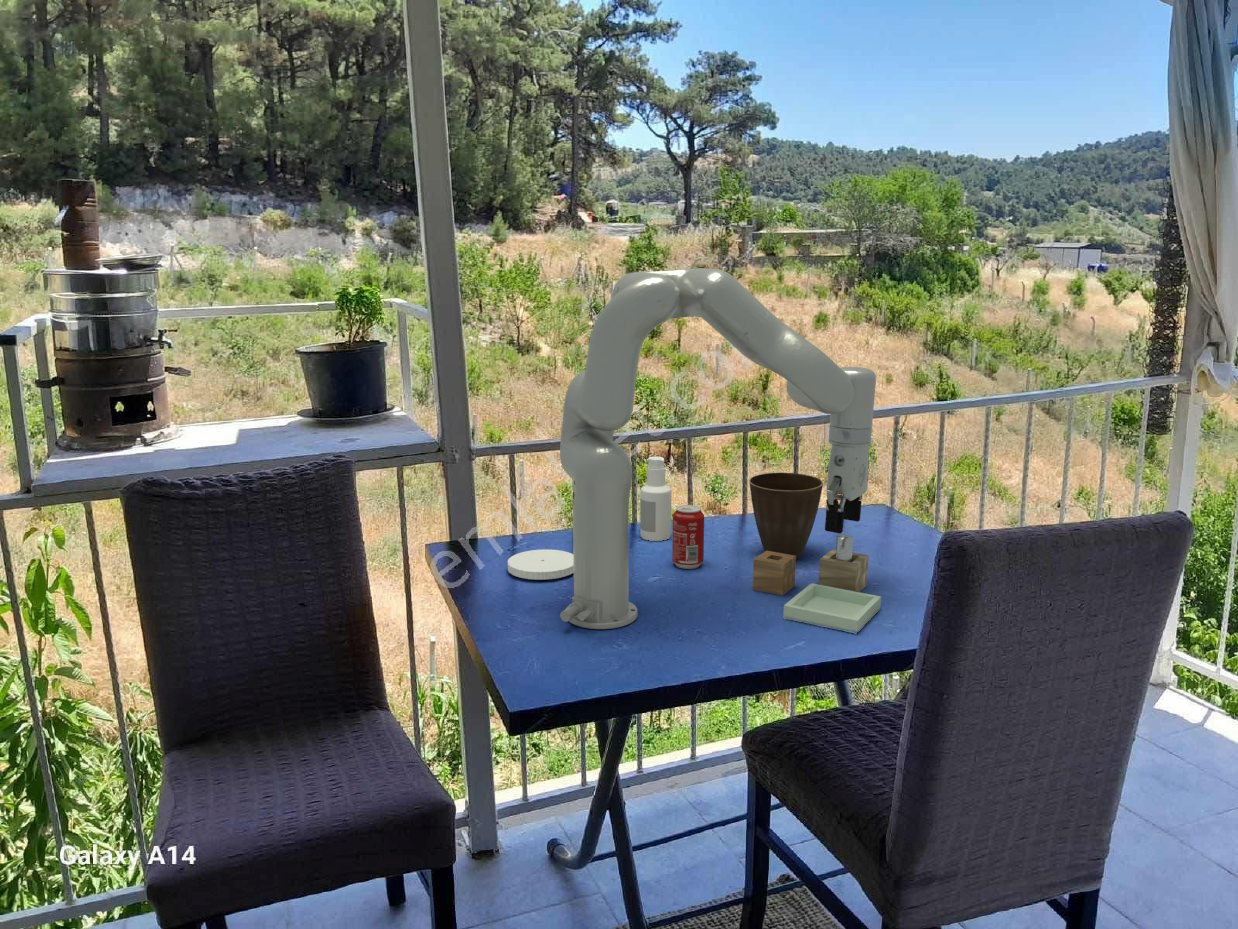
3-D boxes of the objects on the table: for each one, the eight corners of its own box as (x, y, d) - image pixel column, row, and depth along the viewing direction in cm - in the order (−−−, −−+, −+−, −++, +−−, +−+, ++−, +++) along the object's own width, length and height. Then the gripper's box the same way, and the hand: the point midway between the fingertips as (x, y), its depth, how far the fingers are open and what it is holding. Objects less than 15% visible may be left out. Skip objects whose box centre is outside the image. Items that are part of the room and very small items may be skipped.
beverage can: (703, 560, 195) (704, 504, 192) (703, 570, 189) (704, 512, 186) (672, 559, 195) (673, 503, 193) (671, 569, 189) (672, 512, 187)
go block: (854, 596, 175) (856, 565, 173) (818, 589, 178) (819, 559, 177) (866, 585, 180) (868, 555, 179) (831, 578, 184) (832, 549, 183)
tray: (856, 634, 157) (857, 620, 157) (783, 619, 164) (783, 605, 164) (880, 609, 168) (881, 596, 168) (810, 596, 175) (811, 583, 174)
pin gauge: (847, 591, 177) (850, 540, 175) (832, 588, 179) (834, 537, 176) (852, 586, 180) (855, 536, 177) (837, 583, 181) (840, 533, 179)
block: (782, 595, 175) (783, 564, 174) (752, 589, 178) (753, 559, 177) (794, 585, 180) (796, 555, 179) (765, 580, 183) (766, 550, 182)
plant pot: (820, 569, 190) (824, 491, 186) (745, 564, 192) (747, 488, 188) (818, 546, 204) (822, 473, 200) (748, 542, 206) (750, 471, 203)
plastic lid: (530, 589, 180) (530, 577, 179) (495, 570, 191) (494, 558, 190) (591, 574, 188) (591, 562, 187) (554, 556, 199) (554, 545, 198)
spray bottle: (646, 531, 215) (646, 453, 211) (675, 534, 212) (675, 456, 208) (635, 539, 209) (636, 460, 205) (665, 543, 206) (665, 462, 202)
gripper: (854, 445, 163) (846, 540, 167) (884, 431, 178) (876, 519, 182) (813, 440, 167) (806, 533, 171) (845, 426, 182) (838, 512, 185)
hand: (842, 525), depth 176 cm, fingers open, 9 cm apart
